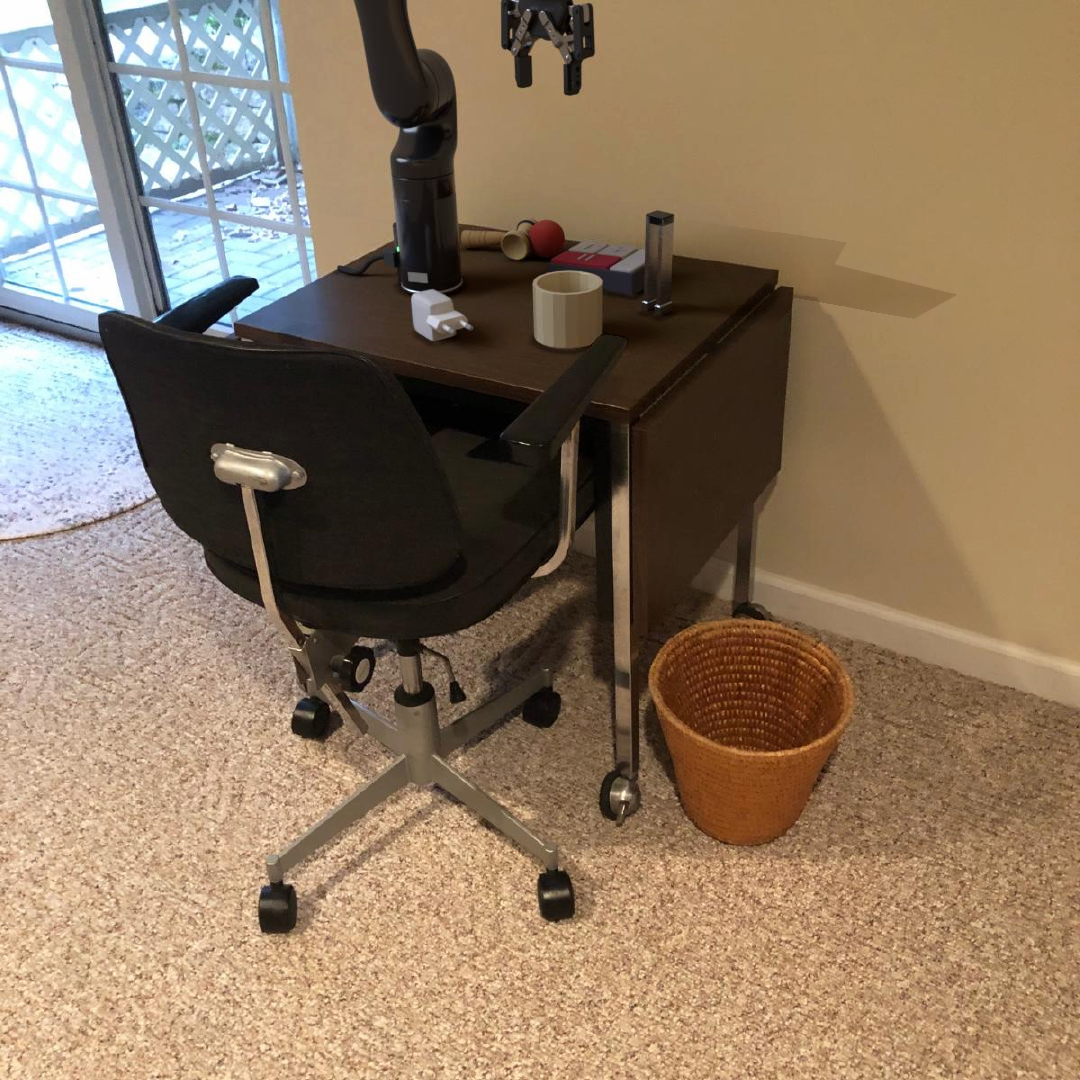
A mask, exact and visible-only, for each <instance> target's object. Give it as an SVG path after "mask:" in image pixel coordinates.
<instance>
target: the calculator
mask: <svg viewBox="0 0 1080 1080" xmlns="http://www.w3.org/2000/svg"><path fill="white" fill-rule="evenodd" d="M546 266H547V267H546V268H547V269H546V270H547V273H550V272H556V271H569V270H571V271H583V272H588V273H592V274H595V275H597V276H599V277H600V278H601V279H602V280H603V290H605V291H609V292H614V293H619V294H625V295H631V296H634V295H636V294H638V293H640V291H642V290H643V291H644V277H645V248H640V249H639V248H638V247H637V246H629V245H623V244H620V245H619V244H610V245H609V244H608V243H604V242H603V243H602V242H593V241H581V242H579V243H578V244H576V245H574V246H572V247H570V248H569V249H568V250H565V251H562V252H561V253H560V254H558V255H556V256H554V257H551V258H550V261H549V262H547V264H546Z"/></svg>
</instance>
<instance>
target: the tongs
mask: <svg viewBox="0 0 1080 1080" xmlns="http://www.w3.org/2000/svg"><path fill="white" fill-rule="evenodd" d="M674 228H675V214H674V213H671V212H667V211H663V210H654V211H651V212H648V213H646V215H645V240H644V243H645V244H644V249H645V277H644V290H643V300H642V301H641V311H644V312H649V311H651V310H654V315H656V316H658V317H659V316H663V315H665V314H667V313H670V312H672V311H673V304H674V303H673V301H672V281H673V279H672V277H673V257H674V255H673V253H674V251H673V250H674V233H675V231H674Z"/></svg>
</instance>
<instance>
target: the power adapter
mask: <svg viewBox="0 0 1080 1080" xmlns="http://www.w3.org/2000/svg"><path fill="white" fill-rule="evenodd" d="M410 301H411V314H412V324H413V328H414V330H415V332H416V333H418V334H420V335H421V336H423V337H425V338H426V339H428V340H429V341H432V342H437V341H441V340H445V339H448V338H452V337H455V336H456V335H457V330H461V329H463V328H465V329H466V330H468V331H469V332H470V331H471V332H472V331H473V330H474V326H473V325H472V324H470V323H468V322H469V319H468V318H467V316H465V314H463V313H461V312H459V311H458V310H456V309H455V308H454V303H453V300H452V299H451V297H449V296H447V294H442V293H440V292H438V291H436V290H434V289H431V290H426V291H422V292H418V293H415V294H413V295H412V294H411V298H410Z"/></svg>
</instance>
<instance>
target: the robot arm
mask: <svg viewBox="0 0 1080 1080" xmlns="http://www.w3.org/2000/svg"><path fill="white" fill-rule="evenodd" d="M353 4H354V7H355V11H356V15H357V19H358V23H359V28H360V33H361V38H362V43H363V49H364V55H365V61H366V67H367V73H368V79H369V83H370V89H371V92H372V97H373V99H374V102H375V105H376V107H377V109H378V111H379V112H380V114H381V115H382V117H383V118H384V119H385V120H386V121H387V122H388V123H389V124H391V125H392V126H393V127H396V128H398V129H399V130H398V136H397V139H396V142H395V144H394V146H393V148H392V150H391V152H390V154H389V168H390V169H389V170H390V178H391V179H390V180H391V187H392V197H393V207H394V218H395V221H394V222H393V224H392V233H393V242H394V243H393V244H394V246H390V247H387V248H383V249H382V252H381V253H376V254H374V255H372V256H370V257H368V258H367V259H366V260H365V262H364V263H363V264H362V265H361V266H360V267H358V268H351V267H347V266H344V265H340V264H338V265H337V266H336V270H337V271H338V272H341V273H343V274H348V275H350V276H357V275H358V276H359V275H362V274H364V273H365V272H366V271H367V270H368V269H369V268H370V267H371V265H372V264H373V263H375V262H377V261H380V260H383V263H384V265H385V266H387V267H391V268H393V269H396V272H397V273H396V274H397V281H398V285H400V286H401V290H402V291H403V292H404V293H406V294H409V295H411V296H412V295H413V294H415V293H418V292H422V291H426V290H431V289H434V290H436V291H438V292H440V293H442V294H444V295H448V294H451V293H454V292H456V291H458V290H460V289H461V288H462V287H463V286H464V281H463V274H462V260H461V259H462V258H461V245H460V229H459V218H458V217H459V216H458V214H459V213H458V202H457V189H456V173H455V171H456V170H455V157H456V152H457V149H458V142H459V141H458V139H459V133H458V132H459V131H458V98H457V97H458V96H457V86H456V81H455V76H454V74H453V71H452V68H451V67H450V65H449V63H448V61H447V60H446V59H445V58H444V57H443V56H442V55H441V54H440V53H439V52H437V51H435V50H433V49H429V48H417V45H416V41H415V37H414V35H413V31H412V26H411V22H410V17H409V10H408V0H353ZM541 39H542V40H544V41H547V42H551V43H552V45H553V47H554V48H555V49H557V50H558V51H559V53H560V55H561V57H562V59H563V61H564V63H562V65H563V67H562V69H563V94H564V95H565V96H568V97H570V96H571V97H572V96H576V95H579V93H580V91H581V89H582V87H583V85H582V83H583V82H582V79H583V78H582V77H583V75H582V73H583V71H582V67H583V66H582V65H583V62H584V61H585V60H587V59H589V58H593V57H595V54H596V47H595V46H596V43H595V41H596V40H595V19H594V6H593V4H592V3H591V2H587V3H580V4H575V3H574V0H501V1H500V47H501V48H502V49H503V50H504V51H506V50H507V51H509V52H510V54H511V55H512V56H513V61H514V79H515V83H516V87H517V88H519V89H525V88H531V87H532V86H533V58H532V57H533V56H532V55H530V53H531V52H532V49H533V47H534V45H535V43H536V42H537V41H539V40H541Z"/></svg>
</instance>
